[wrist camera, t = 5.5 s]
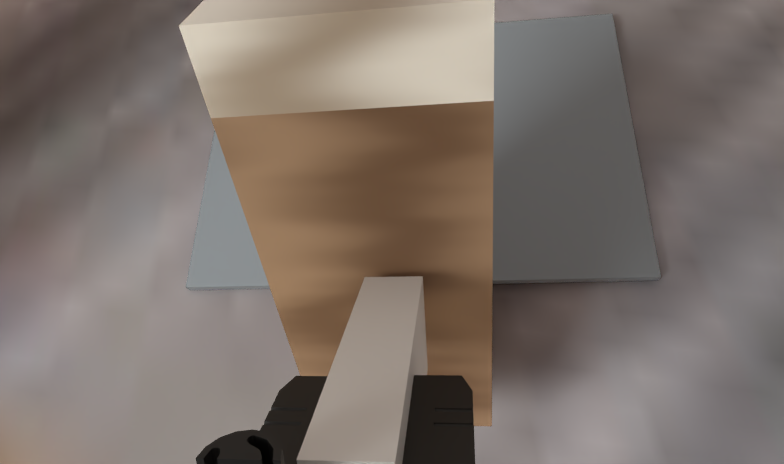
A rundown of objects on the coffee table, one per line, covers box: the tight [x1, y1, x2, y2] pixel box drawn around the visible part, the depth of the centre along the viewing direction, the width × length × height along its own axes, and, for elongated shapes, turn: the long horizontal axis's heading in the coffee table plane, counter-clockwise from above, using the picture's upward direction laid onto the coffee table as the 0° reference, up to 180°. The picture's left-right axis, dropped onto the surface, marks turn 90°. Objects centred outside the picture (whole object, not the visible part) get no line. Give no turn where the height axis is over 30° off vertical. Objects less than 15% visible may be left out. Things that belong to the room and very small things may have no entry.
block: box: [179, 0, 494, 426], centre depth 17 cm, size 6×6×14 cm
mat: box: [186, 14, 661, 290], centre depth 27 cm, size 20×14×1 cm
